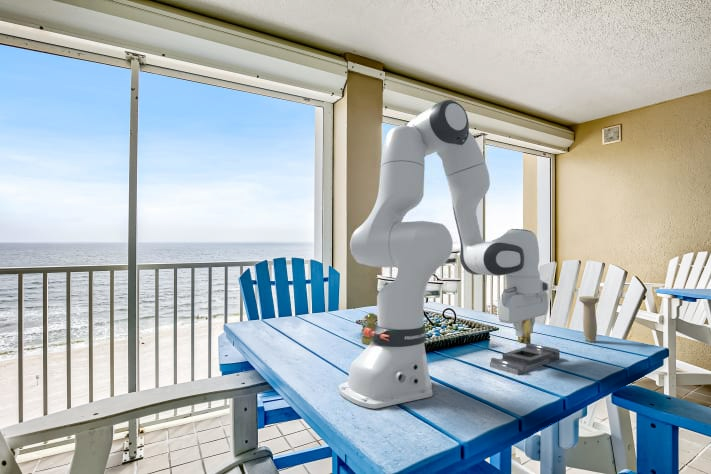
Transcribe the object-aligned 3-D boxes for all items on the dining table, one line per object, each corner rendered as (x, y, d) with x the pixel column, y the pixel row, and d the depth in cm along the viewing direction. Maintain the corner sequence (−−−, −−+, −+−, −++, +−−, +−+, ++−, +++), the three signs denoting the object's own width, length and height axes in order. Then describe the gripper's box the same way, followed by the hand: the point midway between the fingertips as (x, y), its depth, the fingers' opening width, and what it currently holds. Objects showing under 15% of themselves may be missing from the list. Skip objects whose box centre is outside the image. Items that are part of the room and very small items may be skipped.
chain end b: (532, 370, 95) (531, 358, 95) (501, 362, 102) (500, 350, 103) (561, 359, 104) (561, 347, 104) (531, 352, 112) (530, 341, 112)
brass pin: (526, 344, 100) (526, 319, 100) (516, 341, 103) (515, 317, 103) (532, 342, 102) (532, 317, 102) (522, 340, 105) (521, 315, 105)
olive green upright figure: (386, 341, 128) (385, 312, 128) (375, 346, 122) (375, 316, 122) (368, 338, 132) (367, 311, 132) (357, 343, 126) (356, 314, 126)
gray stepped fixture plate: (519, 375, 92) (519, 367, 92) (488, 366, 99) (488, 358, 99) (551, 363, 101) (550, 355, 101) (520, 355, 108) (520, 348, 108)
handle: (577, 340, 124) (576, 297, 125) (589, 338, 127) (587, 295, 127) (591, 344, 120) (590, 298, 120) (603, 341, 123) (602, 297, 123)
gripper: (513, 290, 94) (514, 343, 94) (551, 283, 106) (553, 331, 106) (491, 288, 99) (493, 338, 99) (530, 282, 111) (532, 327, 111)
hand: (524, 334), depth 103 cm, fingers closed on brass pin, 3 cm apart
